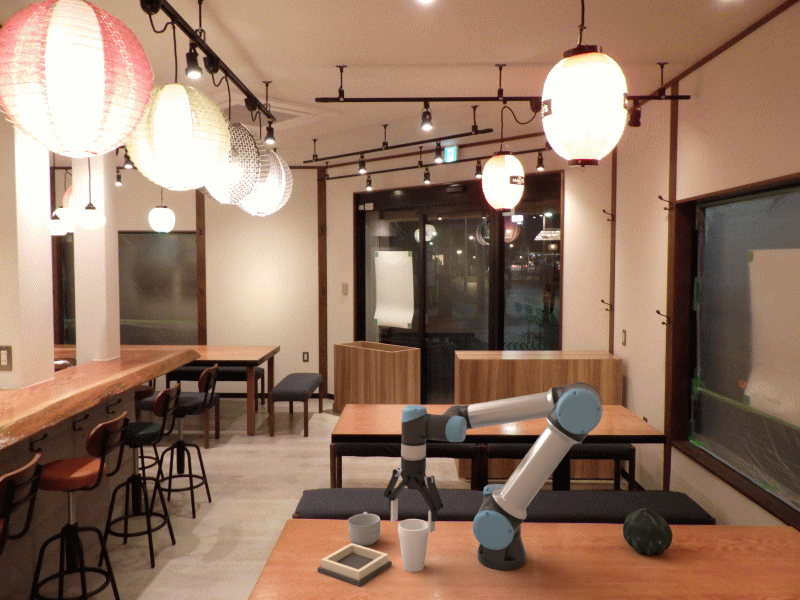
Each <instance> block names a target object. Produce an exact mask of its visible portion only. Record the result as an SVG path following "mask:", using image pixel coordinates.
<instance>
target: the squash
mask: <svg viewBox="0 0 800 600" xmlns="http://www.w3.org/2000/svg"><path fill="white" fill-rule="evenodd" d="M624 519H625V520H624V522H623V526H622V535H623V538H624V541H625V542H626V543H627V544H628V545H629V547H631V548H633V549H634V550H635V552H636V553H638V554H643V553H644V554H645V555H647V556H651V555H653V554H655V555H662V554H663V553H665V552H666V551H667V550H668V549H669V547H671V544H672V541H673V536H674V535H673V530H672V528H671V526H670V525H669V523H668V522H667V521H666V519H664V517H663V516H662V515H660V514H659V513H657V512H656V511H654V510H652V509H649V508H646V507H643V508H639V509H637V510H634V511H632V512H630V513H629V514H627V516H626V517H625V518H624Z"/></svg>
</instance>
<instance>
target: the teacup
mask: <svg viewBox="0 0 800 600" xmlns="http://www.w3.org/2000/svg"><path fill="white" fill-rule="evenodd" d="M347 526H348V527H347V528H348V535H349V539H350V540H351V543H352V542H353V544H357V545H360V546H363V547H368V546H371V545H373V544H376V542H377V541H378V539H379V538H380V535H381V518H380V516H379V515H377V514H374V513H369V512H368V511H363V512H362V513H359V514H354V515H353V516H351V517H349V518H348V519H347Z"/></svg>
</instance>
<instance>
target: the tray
mask: <svg viewBox="0 0 800 600" xmlns="http://www.w3.org/2000/svg"><path fill="white" fill-rule="evenodd" d="M320 562H321V563H320V566H318V567H317V572H318V573H320V574H323V575H326V576H329V577H331V578H335V579H337V580H341V581H342V582H346V583H348V584H351V585H354V586H357V587H361V586H363V585H365V584H366V583H367V582H369V581H370V580H372V579H374V578H375V577H376V576H378V575H380V574H381V573H382V572H384V571H386V570H387V569H389V568H390V567H392V566H393V562H392V560H389V554H388V553H386V552H382V551H380V550H376V549H373V548H369V547H367V546H360V545H357V544H355V543H354V542H353V543H352V542H351V543H349V544H347V545H345V546H343V547H341V548H340V549H337V550H336V551H334V552H332V553H331V554H329V555H327V556H325V557H323V558H322V559H321V560H320Z"/></svg>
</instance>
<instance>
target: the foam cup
mask: <svg viewBox="0 0 800 600" xmlns="http://www.w3.org/2000/svg"><path fill="white" fill-rule="evenodd" d="M397 534H398V538H399V546H400V553H401V562H402V567H403V569H404V570H405V571H407V572H416V573H417V572H420V571H422V570H424V568H425V561H426V555H427V545H428V538H429V533H428V521H426V520H423V519H418V518H407V519H404V520H400V521H399V522H398V524H397Z"/></svg>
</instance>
